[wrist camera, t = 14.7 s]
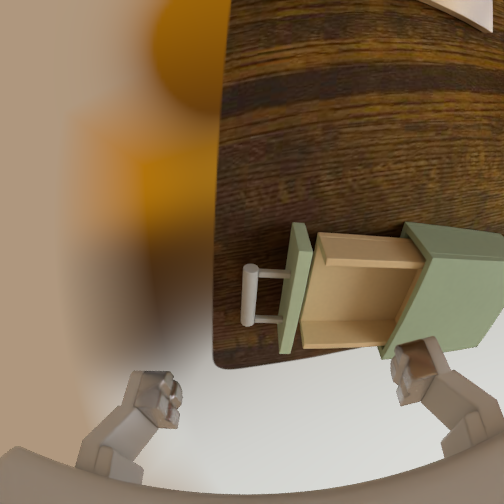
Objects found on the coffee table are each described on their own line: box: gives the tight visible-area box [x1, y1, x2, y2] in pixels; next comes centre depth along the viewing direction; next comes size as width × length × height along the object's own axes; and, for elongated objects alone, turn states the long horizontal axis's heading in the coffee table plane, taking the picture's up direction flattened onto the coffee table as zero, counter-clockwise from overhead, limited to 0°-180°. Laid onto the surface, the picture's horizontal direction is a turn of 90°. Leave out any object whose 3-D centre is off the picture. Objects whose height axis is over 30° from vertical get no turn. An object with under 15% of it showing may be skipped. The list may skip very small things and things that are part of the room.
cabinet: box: [377, 222, 504, 360], centre depth 30 cm, size 17×15×7 cm
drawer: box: [241, 222, 426, 354], centre depth 30 cm, size 20×13×5 cm
